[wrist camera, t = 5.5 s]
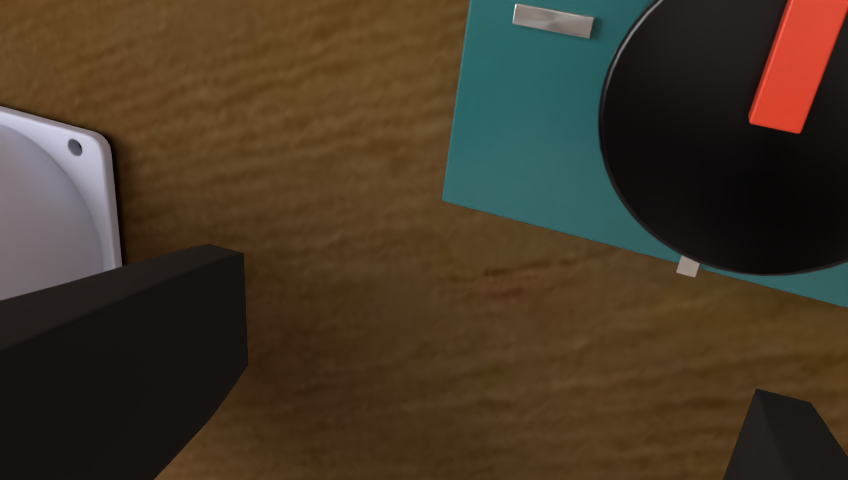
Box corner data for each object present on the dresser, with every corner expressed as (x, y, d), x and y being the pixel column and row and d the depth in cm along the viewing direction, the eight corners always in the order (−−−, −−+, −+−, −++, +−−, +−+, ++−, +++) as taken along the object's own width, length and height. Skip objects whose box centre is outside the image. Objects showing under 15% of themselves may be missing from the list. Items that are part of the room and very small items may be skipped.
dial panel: (480, 160, 18) (437, 208, 15) (545, -241, 14) (503, -272, 11) (938, 273, 15) (985, 355, 12) (1178, -182, 11) (1322, -204, 8)
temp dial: (842, 199, 12) (893, 330, 9) (606, 145, 13) (562, 241, 10) (951, -54, 10) (1075, -23, 7) (665, -94, 11) (639, -87, 8)
